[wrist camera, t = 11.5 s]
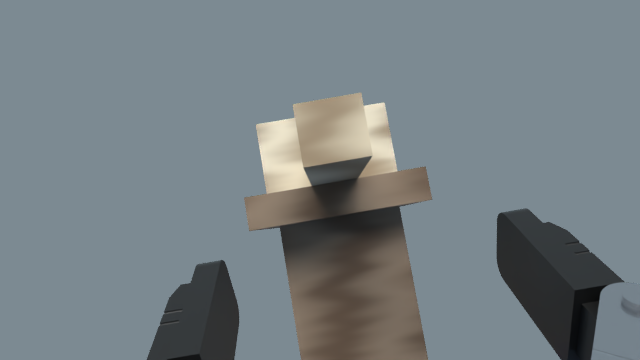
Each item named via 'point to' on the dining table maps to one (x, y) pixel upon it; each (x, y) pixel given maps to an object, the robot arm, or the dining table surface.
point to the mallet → (326, 144)
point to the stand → (349, 265)
